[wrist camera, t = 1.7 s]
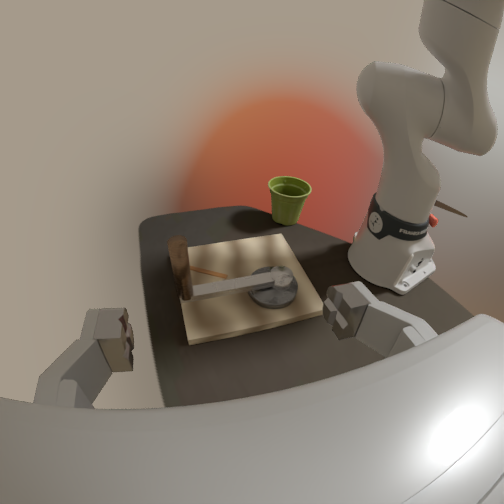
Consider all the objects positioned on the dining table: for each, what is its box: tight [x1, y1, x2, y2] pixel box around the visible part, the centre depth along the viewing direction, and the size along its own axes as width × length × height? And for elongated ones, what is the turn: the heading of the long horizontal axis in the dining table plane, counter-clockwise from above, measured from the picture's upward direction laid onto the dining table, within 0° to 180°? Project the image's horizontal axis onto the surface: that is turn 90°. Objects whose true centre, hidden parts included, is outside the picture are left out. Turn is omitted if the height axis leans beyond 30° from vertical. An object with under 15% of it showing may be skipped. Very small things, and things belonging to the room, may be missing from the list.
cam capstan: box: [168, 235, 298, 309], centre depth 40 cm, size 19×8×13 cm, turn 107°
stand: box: [181, 234, 323, 345], centre depth 48 cm, size 22×20×2 cm
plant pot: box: [268, 176, 311, 225], centre depth 61 cm, size 9×9×9 cm
